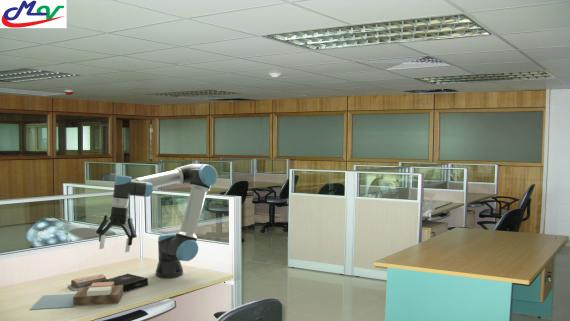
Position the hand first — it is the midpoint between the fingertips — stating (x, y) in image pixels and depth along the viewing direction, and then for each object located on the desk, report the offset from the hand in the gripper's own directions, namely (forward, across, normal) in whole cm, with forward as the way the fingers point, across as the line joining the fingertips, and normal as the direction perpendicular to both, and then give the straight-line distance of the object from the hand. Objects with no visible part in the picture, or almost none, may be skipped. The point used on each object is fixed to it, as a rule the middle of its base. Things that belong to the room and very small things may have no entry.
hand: (114, 250), depth 239 cm
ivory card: (+20, -1, -7) cm, 21 cm away
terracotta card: (+19, -4, +1) cm, 19 cm away
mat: (+26, -21, -9) cm, 34 cm away
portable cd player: (+21, -2, +18) cm, 28 cm away
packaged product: (+23, -21, +16) cm, 35 cm away
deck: (+23, -3, -3) cm, 24 cm away
